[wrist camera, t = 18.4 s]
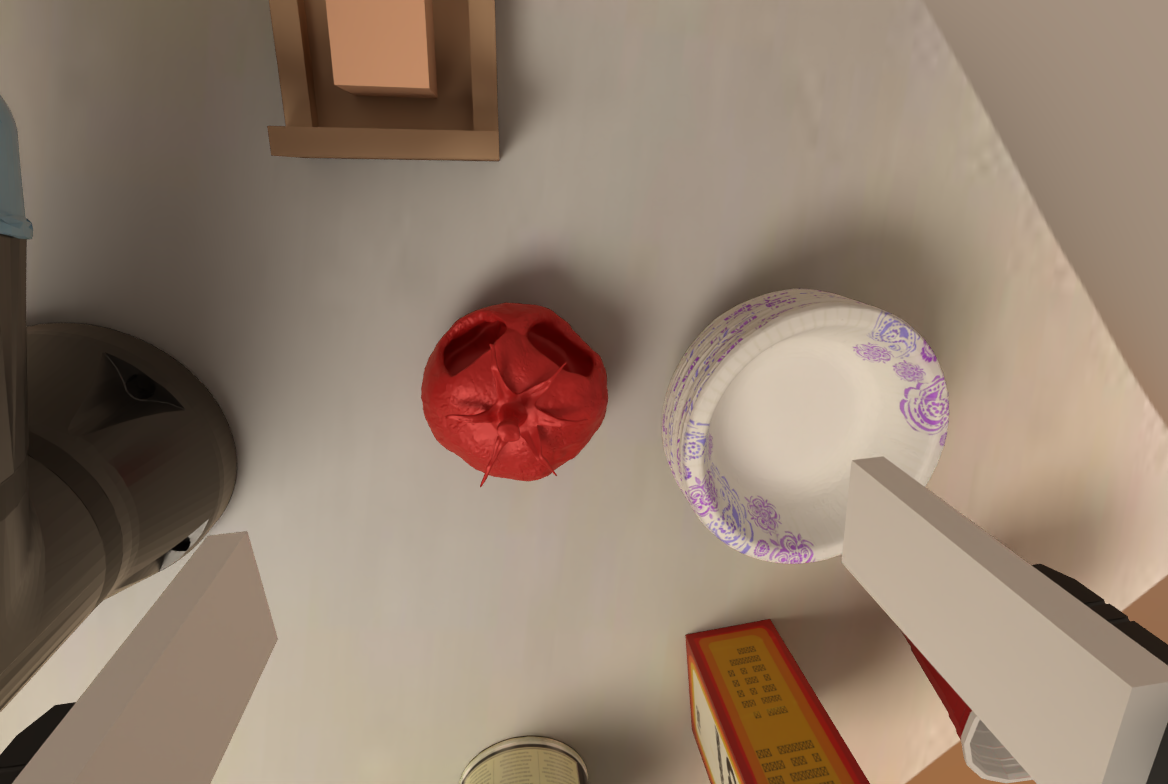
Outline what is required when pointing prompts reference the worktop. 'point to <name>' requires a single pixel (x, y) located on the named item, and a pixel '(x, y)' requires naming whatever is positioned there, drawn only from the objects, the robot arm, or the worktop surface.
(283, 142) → the wooden crate tray
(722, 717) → the baking soda box
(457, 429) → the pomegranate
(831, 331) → the paper bowls
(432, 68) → the orange rectangular block
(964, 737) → the plastic cup
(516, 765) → the coffee can
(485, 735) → the worktop surface
